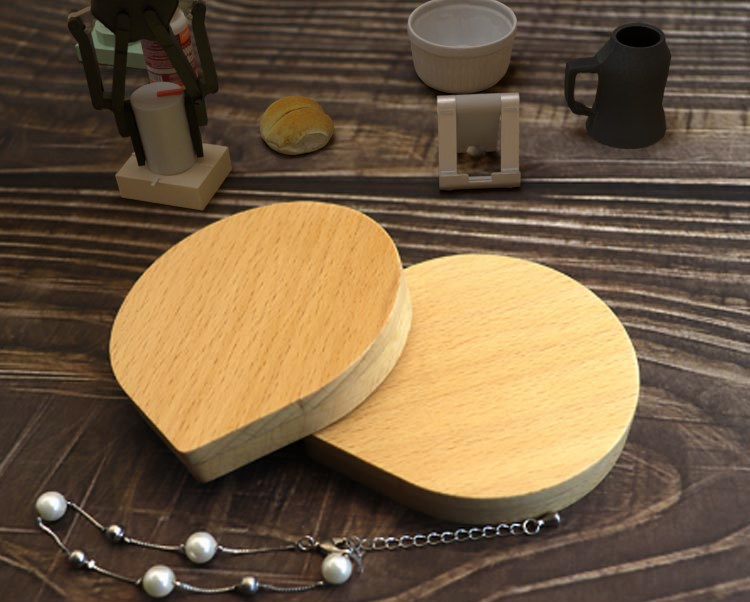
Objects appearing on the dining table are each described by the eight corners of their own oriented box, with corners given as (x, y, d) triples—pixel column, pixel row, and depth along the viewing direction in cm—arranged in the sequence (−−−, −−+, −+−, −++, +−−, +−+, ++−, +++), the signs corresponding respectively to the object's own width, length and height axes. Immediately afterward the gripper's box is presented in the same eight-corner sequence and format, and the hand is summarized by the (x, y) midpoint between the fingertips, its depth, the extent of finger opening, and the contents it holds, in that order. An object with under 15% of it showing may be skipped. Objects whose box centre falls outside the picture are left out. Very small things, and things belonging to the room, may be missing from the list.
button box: (79, 61, 134) (70, 32, 131) (108, 32, 139) (100, 4, 136) (146, 69, 132) (139, 40, 129) (173, 39, 137) (167, 11, 134)
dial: (147, 178, 109) (129, 111, 103) (146, 149, 113) (129, 83, 107) (198, 170, 110) (184, 103, 104) (196, 142, 114) (181, 75, 108)
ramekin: (536, 67, 127) (540, 15, 122) (468, 113, 120) (469, 59, 115) (455, 35, 133) (455, -16, 128) (386, 77, 127) (384, 25, 122)
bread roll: (314, 108, 123) (311, 78, 120) (343, 145, 117) (340, 114, 114) (250, 126, 121) (245, 96, 118) (276, 164, 115) (271, 134, 112)
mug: (654, 101, 120) (668, 11, 112) (675, 144, 114) (693, 52, 105) (553, 110, 120) (560, 20, 112) (569, 154, 113) (578, 62, 105)
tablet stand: (439, 194, 110) (439, 127, 104) (437, 152, 115) (436, 86, 109) (519, 190, 109) (524, 123, 103) (513, 149, 115) (517, 82, 109)
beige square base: (117, 202, 112) (110, 178, 110) (157, 153, 118) (151, 129, 116) (199, 215, 109) (194, 191, 107) (235, 164, 116) (231, 140, 113)
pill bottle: (201, 89, 127) (184, 3, 119) (152, 97, 127) (132, 11, 118) (196, 65, 132) (179, -19, 123) (148, 73, 131) (128, -11, 123)
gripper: (218, -86, 98) (252, 124, 114) (21, -61, 96) (85, 148, 113) (223, -53, 92) (258, 161, 109) (16, -27, 91) (84, 187, 108)
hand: (170, 154), depth 111 cm, fingers closed on dial, 6 cm apart
